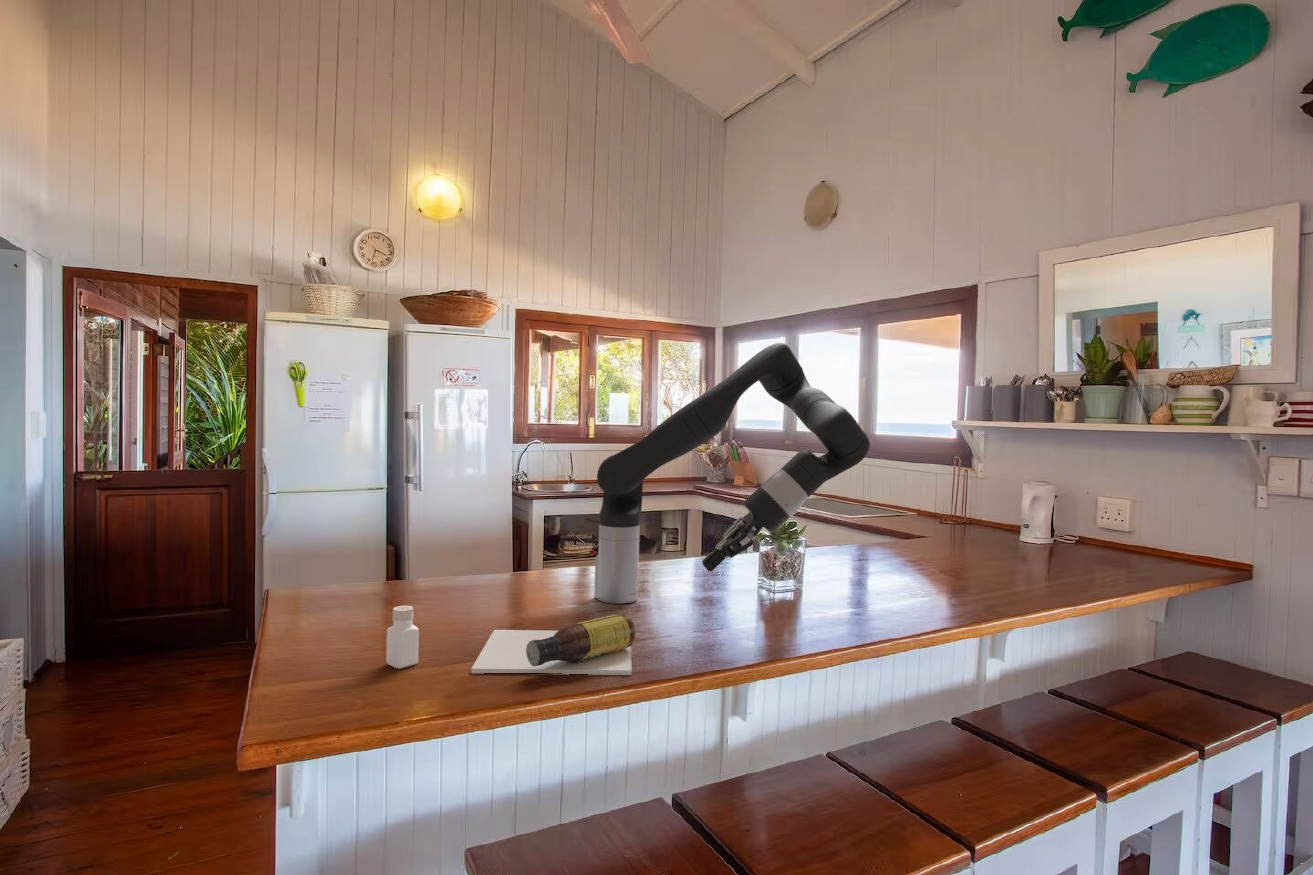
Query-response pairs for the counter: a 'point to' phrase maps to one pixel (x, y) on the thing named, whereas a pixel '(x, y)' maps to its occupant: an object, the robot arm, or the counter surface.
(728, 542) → the robot arm
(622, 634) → the sauce bottle
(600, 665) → the cutting mat
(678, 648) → the counter surface
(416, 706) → the counter surface
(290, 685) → the counter surface
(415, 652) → the white pill bottle
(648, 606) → the counter surface
